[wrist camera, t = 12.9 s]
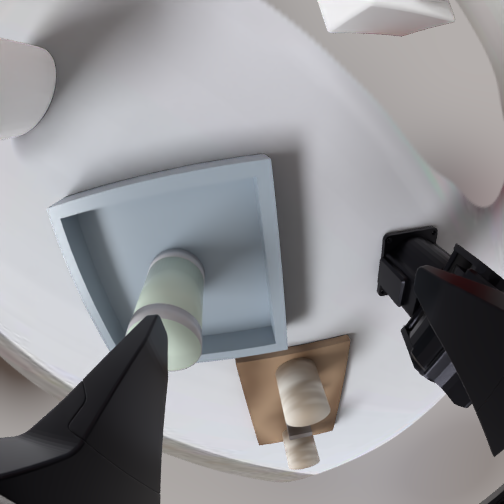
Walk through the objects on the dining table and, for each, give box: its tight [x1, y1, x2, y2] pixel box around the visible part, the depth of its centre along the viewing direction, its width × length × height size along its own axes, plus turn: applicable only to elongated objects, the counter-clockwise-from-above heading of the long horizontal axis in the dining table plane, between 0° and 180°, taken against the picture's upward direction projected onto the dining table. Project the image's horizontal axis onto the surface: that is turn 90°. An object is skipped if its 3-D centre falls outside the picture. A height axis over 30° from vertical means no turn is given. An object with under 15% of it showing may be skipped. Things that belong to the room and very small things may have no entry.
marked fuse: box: [125, 248, 205, 371], centre depth 18 cm, size 4×4×8 cm
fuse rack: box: [235, 335, 350, 470], centre depth 29 cm, size 12×22×7 cm, turn 7°
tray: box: [47, 154, 288, 363], centre depth 21 cm, size 16×16×3 cm
